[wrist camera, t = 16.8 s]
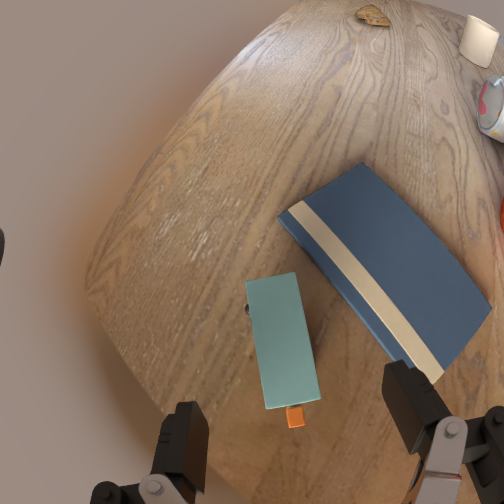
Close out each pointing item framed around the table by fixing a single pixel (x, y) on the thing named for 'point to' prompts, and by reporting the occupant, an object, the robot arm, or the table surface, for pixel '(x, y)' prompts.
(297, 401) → the sage wedge block
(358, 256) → the striped blue notebook
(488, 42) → the mug
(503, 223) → the apple
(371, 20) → the seashell
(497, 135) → the pencil case
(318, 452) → the table surface
